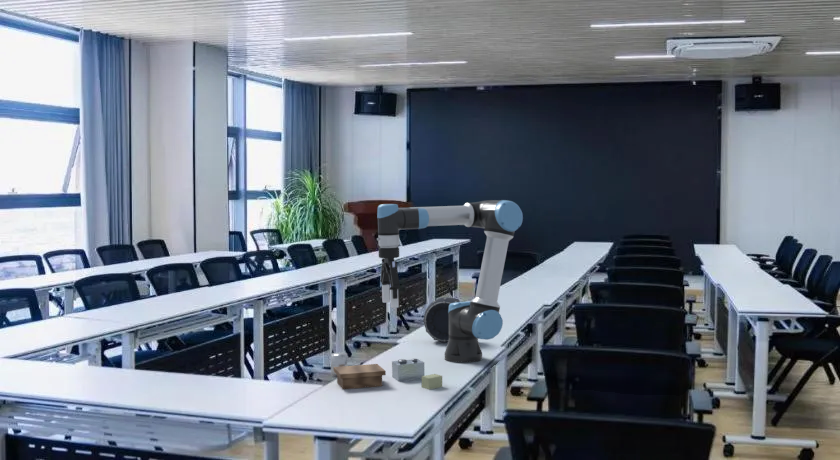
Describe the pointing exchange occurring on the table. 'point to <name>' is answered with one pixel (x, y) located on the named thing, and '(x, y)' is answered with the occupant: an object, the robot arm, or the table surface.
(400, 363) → the housing
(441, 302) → the dark grey drum
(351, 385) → the walnut stand
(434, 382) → the olive painted block
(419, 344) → the table surface
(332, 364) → the grey metal can
